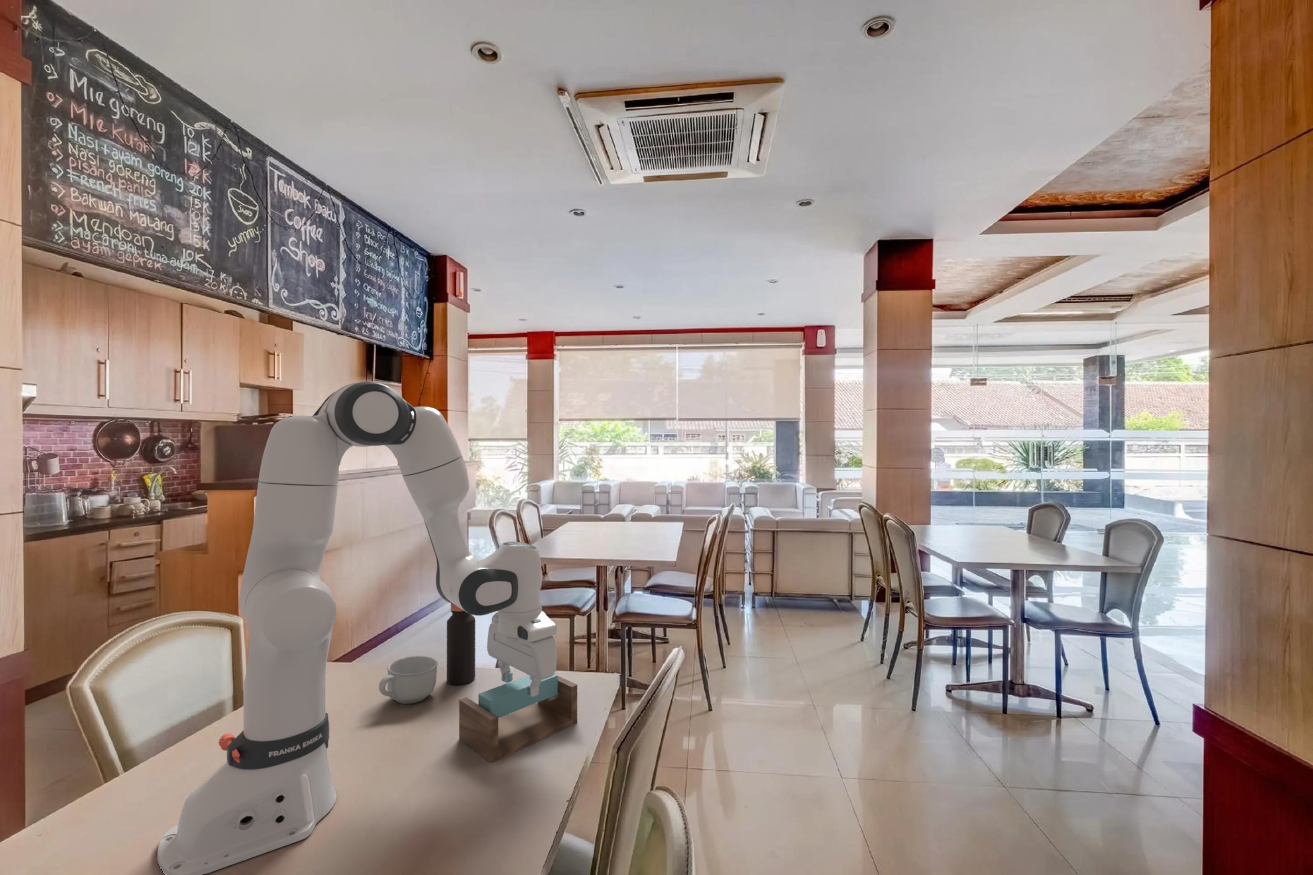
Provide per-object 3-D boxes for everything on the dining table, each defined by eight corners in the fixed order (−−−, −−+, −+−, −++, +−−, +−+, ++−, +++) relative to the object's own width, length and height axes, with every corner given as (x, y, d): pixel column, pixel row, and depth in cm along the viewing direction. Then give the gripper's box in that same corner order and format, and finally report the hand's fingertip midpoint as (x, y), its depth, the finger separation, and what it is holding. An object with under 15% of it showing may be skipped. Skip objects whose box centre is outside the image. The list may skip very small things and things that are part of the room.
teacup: (421, 683, 138) (421, 651, 138) (447, 695, 132) (447, 661, 132) (364, 705, 127) (364, 670, 127) (389, 719, 120) (389, 681, 120)
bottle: (479, 674, 143) (479, 596, 143) (468, 686, 136) (468, 604, 137) (454, 673, 144) (454, 595, 144) (441, 685, 137) (441, 603, 137)
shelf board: (490, 721, 108) (490, 700, 108) (478, 713, 111) (478, 693, 111) (557, 693, 120) (557, 675, 120) (545, 687, 123) (545, 669, 123)
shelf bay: (491, 762, 104) (491, 719, 104) (459, 739, 112) (459, 699, 112) (577, 722, 119) (577, 684, 119) (543, 704, 127) (543, 669, 127)
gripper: (479, 613, 120) (479, 678, 120) (535, 635, 106) (535, 708, 106) (505, 607, 125) (505, 669, 125) (562, 627, 111) (562, 697, 111)
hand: (519, 687), depth 116 cm, fingers open, 8 cm apart
